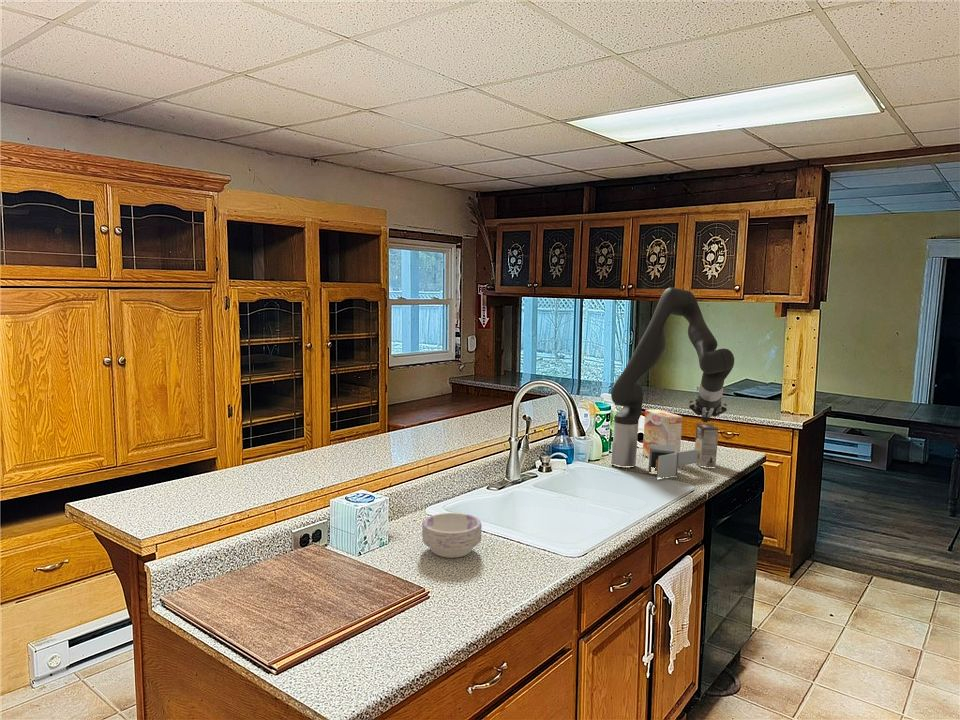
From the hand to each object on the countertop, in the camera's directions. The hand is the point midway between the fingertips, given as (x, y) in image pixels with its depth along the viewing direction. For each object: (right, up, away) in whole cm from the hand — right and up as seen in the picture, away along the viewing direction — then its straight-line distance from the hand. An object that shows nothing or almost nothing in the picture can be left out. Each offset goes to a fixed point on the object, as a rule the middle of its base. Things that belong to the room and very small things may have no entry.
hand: (705, 420), depth 238 cm
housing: (-12, -21, +16) cm, 29 cm away
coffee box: (+9, -21, +28) cm, 36 cm away
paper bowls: (-88, -28, -65) cm, 113 cm away
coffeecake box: (-7, -19, +34) cm, 40 cm away
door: (-8, -22, +9) cm, 25 cm away
